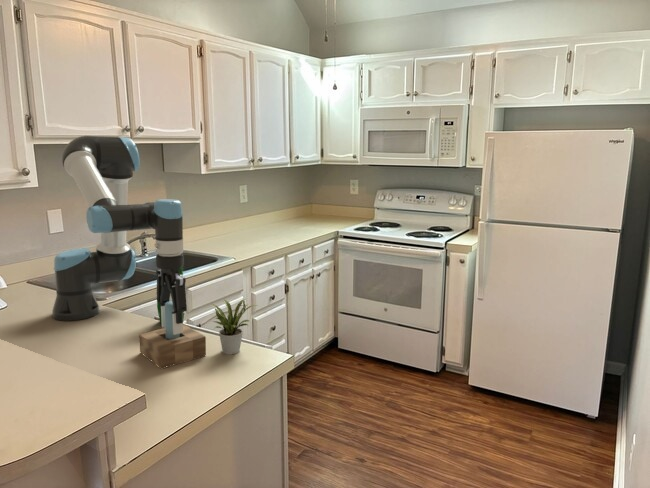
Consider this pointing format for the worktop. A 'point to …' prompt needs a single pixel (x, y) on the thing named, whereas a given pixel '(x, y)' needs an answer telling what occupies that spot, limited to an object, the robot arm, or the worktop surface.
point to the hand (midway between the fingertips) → (172, 329)
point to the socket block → (172, 346)
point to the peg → (169, 321)
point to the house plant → (231, 328)
